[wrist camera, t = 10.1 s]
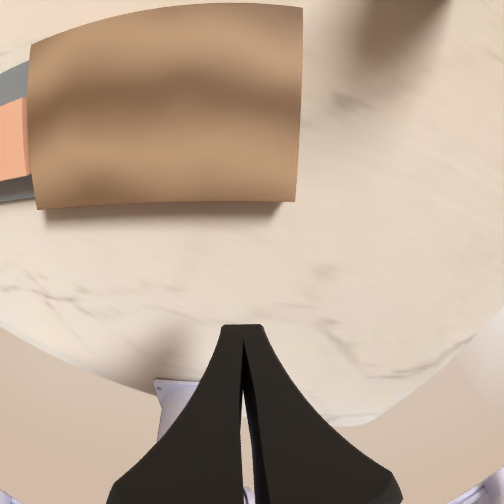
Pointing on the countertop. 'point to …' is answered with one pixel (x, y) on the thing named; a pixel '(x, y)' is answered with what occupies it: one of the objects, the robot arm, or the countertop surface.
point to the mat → (4, 91)
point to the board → (168, 107)
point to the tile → (14, 140)
